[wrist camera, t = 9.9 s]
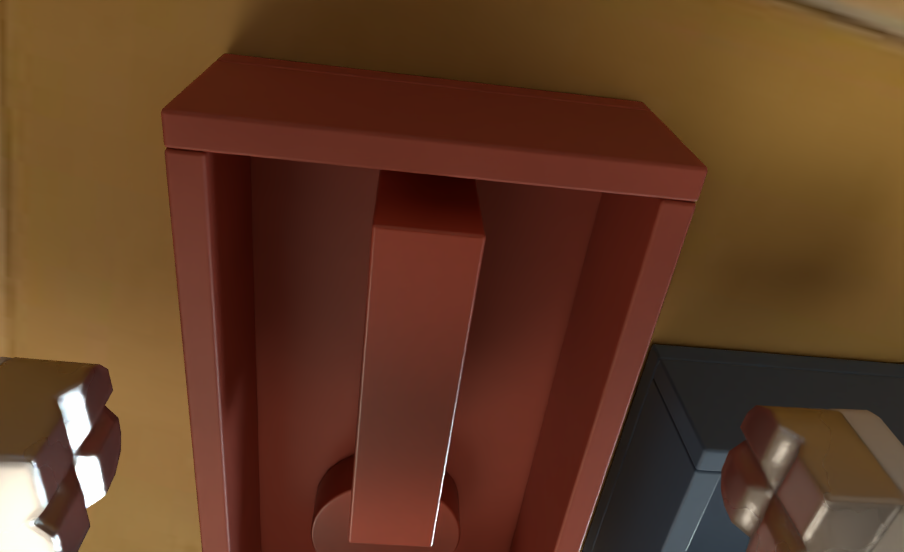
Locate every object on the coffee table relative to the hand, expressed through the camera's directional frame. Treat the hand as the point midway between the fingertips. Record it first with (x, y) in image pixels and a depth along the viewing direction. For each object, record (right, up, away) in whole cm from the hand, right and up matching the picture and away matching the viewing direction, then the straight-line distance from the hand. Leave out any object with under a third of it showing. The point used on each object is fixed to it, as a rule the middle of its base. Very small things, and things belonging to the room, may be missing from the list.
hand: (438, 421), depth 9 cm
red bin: (-1, -1, +8) cm, 8 cm away
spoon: (-1, -1, +8) cm, 8 cm away
